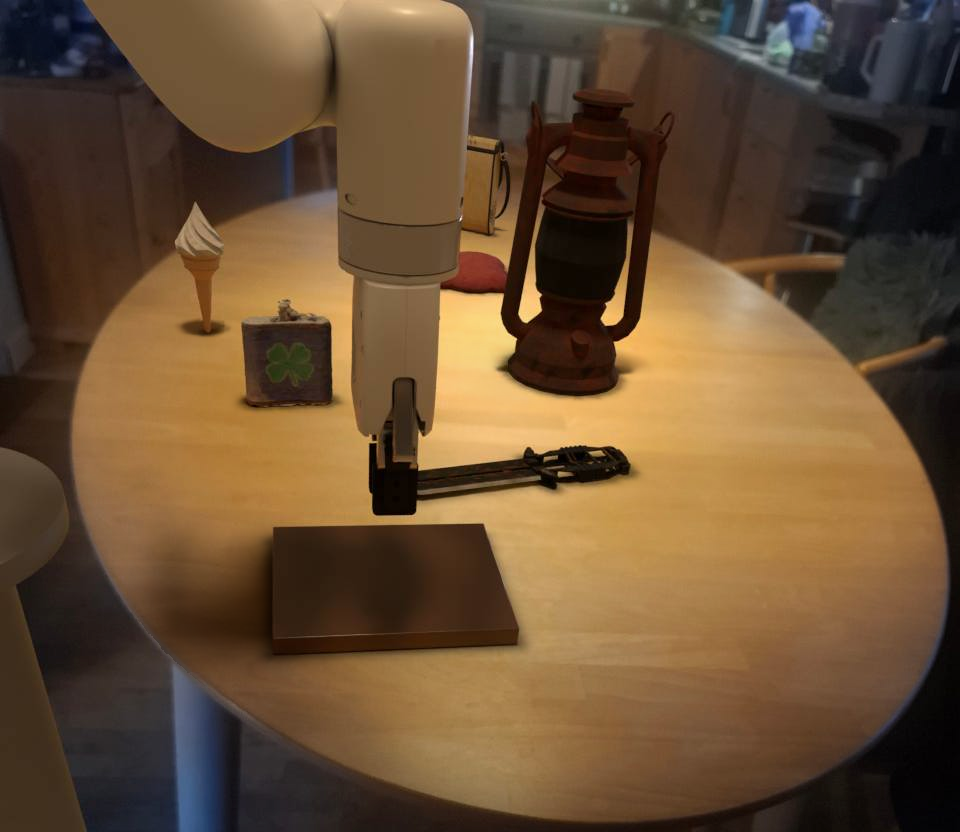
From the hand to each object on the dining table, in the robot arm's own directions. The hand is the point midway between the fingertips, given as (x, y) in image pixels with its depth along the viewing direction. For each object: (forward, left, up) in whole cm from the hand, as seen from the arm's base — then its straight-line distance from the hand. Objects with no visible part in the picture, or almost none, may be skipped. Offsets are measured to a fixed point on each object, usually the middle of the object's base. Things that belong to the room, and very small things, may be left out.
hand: (392, 501), depth 66 cm
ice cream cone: (-17, +56, -8) cm, 59 cm away
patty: (+20, +83, -8) cm, 86 cm away
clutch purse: (+19, +116, -8) cm, 118 cm away
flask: (-7, +36, -8) cm, 38 cm away
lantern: (+26, +45, -8) cm, 53 cm away
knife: (+14, +18, -8) cm, 24 cm away
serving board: (0, 0, -8) cm, 8 cm away
